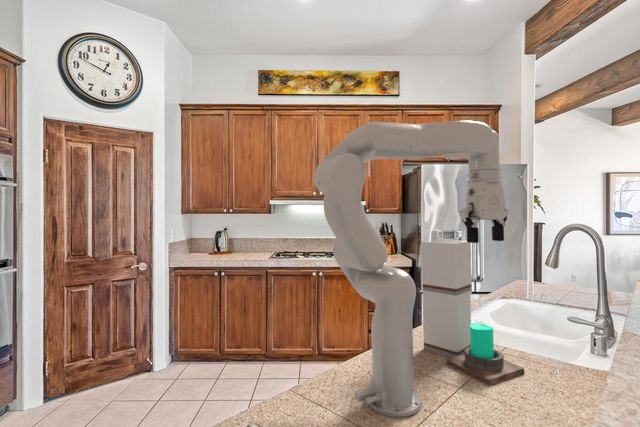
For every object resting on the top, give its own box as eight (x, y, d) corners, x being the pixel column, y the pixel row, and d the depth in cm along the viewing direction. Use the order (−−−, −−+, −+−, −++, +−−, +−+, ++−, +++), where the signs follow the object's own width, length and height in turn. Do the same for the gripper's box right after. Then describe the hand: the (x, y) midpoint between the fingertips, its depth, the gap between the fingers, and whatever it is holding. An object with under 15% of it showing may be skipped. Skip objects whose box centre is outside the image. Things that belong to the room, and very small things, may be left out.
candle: (497, 369, 91) (496, 325, 91) (473, 367, 92) (472, 324, 93) (490, 360, 97) (489, 318, 97) (468, 358, 98) (467, 317, 98)
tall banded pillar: (473, 349, 109) (470, 240, 109) (458, 359, 102) (455, 243, 102) (440, 340, 117) (437, 239, 117) (423, 348, 110) (421, 241, 110)
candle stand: (488, 385, 86) (488, 368, 86) (446, 364, 98) (446, 348, 98) (524, 373, 92) (523, 357, 92) (480, 354, 104) (479, 340, 104)
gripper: (472, 175, 83) (474, 244, 83) (518, 177, 91) (520, 240, 91) (449, 178, 90) (451, 242, 90) (493, 180, 97) (495, 239, 97)
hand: (485, 241), depth 90 cm, fingers open, 9 cm apart
